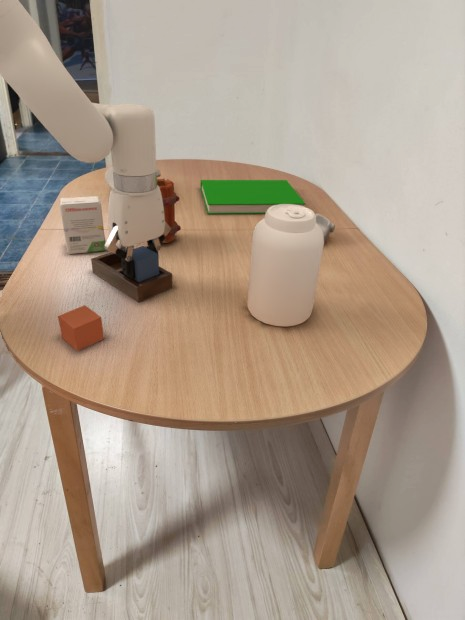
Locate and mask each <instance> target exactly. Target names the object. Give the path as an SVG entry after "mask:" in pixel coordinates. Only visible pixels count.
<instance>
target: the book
mask: <svg viewBox="0 0 465 620" xmlns="http://www.w3.org/2000/svg"><path fill="white" fill-rule="evenodd" d="M200 192H201V195H202V200H203V202H204V205H205V208H206V212H207V215H265V213H266V212H267V210H268V209H269V207H272V206H274V205H279V204H294V205H300V206H303V207H305V206H306V202H305V201H304V199H302V197H301V196H300V195H299V193H298V192H297V191H296V189H295V188H294V187H293V186H292V185H291V183H289V181H288V180H287V179H200Z"/></svg>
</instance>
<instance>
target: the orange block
mask: <svg viewBox="0 0 465 620" xmlns="http://www.w3.org/2000/svg"><path fill="white" fill-rule="evenodd" d="M57 319H58V324H59V329H60V334H61V338H62V339H63V340H64V341H65V342H66V343H67V344H69V345H70V346H71V347H72V348H73V349H75V351H76V352H79V351H81V350H83V349H85V348H87V347H90V346H92V345H94V344H96V343H98V342H100V341H102V340H105V337H104V336H105V335H104V328H103V321H102V317H101V316H100V315H99V314H98V313H96V312H95V311H94V310H92V309H91V308H89V307H88V306H87V305H86V304H83V305H81V306H78V307H76V308H74V309H71V310H69V311H67V312H64V313H61V314H58V315H57Z"/></svg>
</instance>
